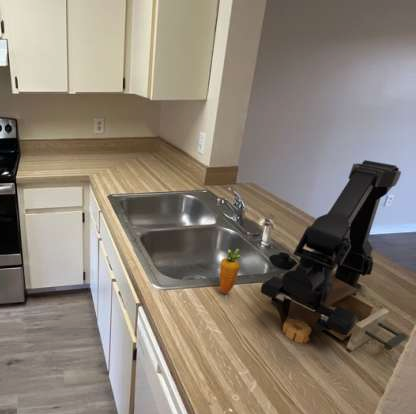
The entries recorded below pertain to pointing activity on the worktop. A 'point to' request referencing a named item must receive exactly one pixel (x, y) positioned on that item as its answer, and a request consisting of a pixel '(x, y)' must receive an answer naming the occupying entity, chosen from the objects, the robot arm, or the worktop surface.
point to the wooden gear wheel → (297, 330)
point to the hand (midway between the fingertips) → (297, 330)
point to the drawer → (366, 324)
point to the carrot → (229, 271)
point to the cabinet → (336, 295)
